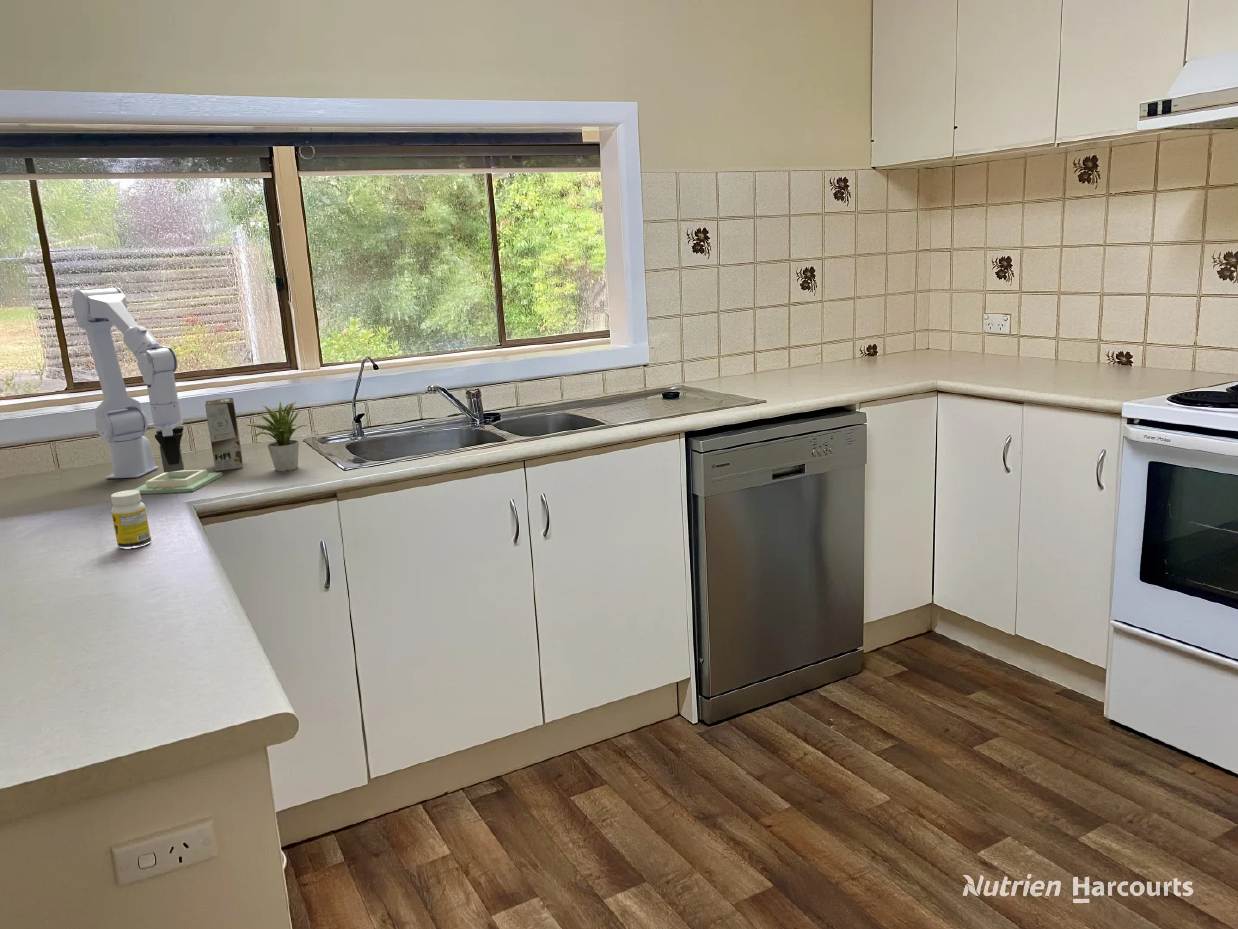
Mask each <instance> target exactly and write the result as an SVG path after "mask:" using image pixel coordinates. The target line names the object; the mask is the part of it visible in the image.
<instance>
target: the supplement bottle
mask: <svg viewBox="0 0 1238 929" xmlns="http://www.w3.org/2000/svg"><path fill="white" fill-rule="evenodd" d="M110 498H111V504H112V508H111V509H110V511H111V512H110V513H111V518H112V524H113V527H114V534H115V538H116V543H117V547H118V546H119V547H133V546H141V545H144V544H146V543H148V542H150V541H151V542H152V536H151V531H150V526H149V520H148V514H147V510H146V505H145V503H143V501H141V500H142V497H141V494H140V491H138V490H134V489H127V490H122V491H118V492H115V493H111V495H110ZM119 547H118V548H119Z"/></svg>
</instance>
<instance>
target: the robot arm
mask: <svg viewBox="0 0 1238 929" xmlns="http://www.w3.org/2000/svg"><path fill="white" fill-rule="evenodd" d="M71 300H72V301H71V306H72V309H73V313H74V316H75V321H76V323H77V326H78V328H81V329H83V330H85V333H86V337H87V340H88V344H89V348H90V351H91V356H92V359H93V363H94V365H95V366H94V367H95V370H96V374H97V377H98V380H99V384H100V388H101V391H102V395H103V400H102V401H101V403H100V404H99V405H98V406H97V407H96V408H95V409H94V415H95V427H96V431H97V433H98V435H99V437H101V438H102V440H104V441H105V442H107V443H108V448H109V455H110V459H111V465H112V470H113V473H111V474H110V475H107V476H106V479H127V478H133V479H134V478H140V477H141V476H144V475H146V474H148V473H151V472H153V471H155V470H157V469H158V468H159V466H158V465H155V462H154V455H153V450H152V449H153V448H152V445H151V444H152V443H151V441H150V440H149V439H148V438H147V436H145V433H146V432H147V429H150V428H154V429H157V430H156V434H154V439H155V440H156V441H157V443H158V444H159V446H160V445H161V447H162V449H163V451H164V454H165V457H166V459H167V462H168V464H169V465H173V464H179V461H180V446H181V440H182V437H183V435H184V433H183V432H184V426H182V425H183V424H184V422H183V421H184V420H183V419H182V416H181V410H180V405H179V397H178V392H177V391H178V390H177V386H176V379H175V374H174V373H175V372H176V371H177V369H178V359H177V356H176V353H175V351H174V349H172V347H171V346H166V345H165V344H161V343H160V342H159V341H158V340H157V338H155V337H154V335H153V334H152V333H151V332H150V330H149V329H148V328H146V327H145V326H141V325H138V324H137V322H136V320H135V319H134V317H133V316H132V315H131V313H130V311H129V310H128V302H127V297H126V294H125V293H124V291H123V290H122V289H121V288H120V287H118V286H114V287H110V288H95V289H85V290H84V289H83V290H82V289H77V290H75V292H74V294H73V296H72V299H71ZM113 326H114V327H115V328H117V330H118V331H119V332H120V333H122V335H123V338H122V340H123V343H124V345H125V346H126V347H127V348H128V350H130V352H131V353H132V354H133V356H134V358H136V359H137V362H136V363H137V367H138V370H139V372H140V374H141V376H142V381H143V382H144V383H143V384H145V385H146V388H147V389H146V390H147V394H148V398H149V406H150V411H151V417H152V423H149V420H148V417H147V414H146V413H145V411H144V410H143V407H142V405H141V402H140V401H138V400H137V399H135V398H133V397H131V396H130V395H128V391H127V389H126V388H127V387H126V385H125V382H124V378H123V374H122V369H121V366H120V363H119V359H118V355H117V351H116V347H115V345H114V341H113V337H112V333H111V330H112V327H113ZM118 410H119V411H118ZM111 411H113V412H111Z"/></svg>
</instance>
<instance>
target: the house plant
mask: <svg viewBox="0 0 1238 929" xmlns="http://www.w3.org/2000/svg"><path fill="white" fill-rule="evenodd" d="M296 403H297V401H294V402H292V403H289V404H287V405H286V406H285V407H284V409H283V405H282V402H281V401H280V402H279V407H278V411H277V412H278V414H277V412H276V411H274V410H271V409H270V408H269V407H268V406H265V405H262V407H264V408H265V410H266V411H267V412H268V415H269V417H270V418H271V419H270V418H268V417H267V416H265V415H261V414H259V413H256V412H252V414H254V415H256V416H259V418H261V419H262V420H263V421H264V422H265V424H266V425H264V424H258V423H257V424H246V426H247V427H253V428H257V431H259V432H258V433H255V434H254V435H253V438H256V437H257V436H259V435H266V436H267V437H268V438H270V439H271V440H274V441H273V442H269V443H267V448H268V451H269V455H270V457H271V460H272V464H273V468H274V470H275V471H276V470H277V471H276V472H287V471H286V470H289V471H293V470H292V469H294V470H296V469H295V468H297V467H298V468H299V447H300V446H299V445H300V444H299V443H300V441H299V440H297V439H291V437H292V436H293V434H294V432H295V431H297V429H299V428H301V427H308V425H306V424H305V425H298V426H297V425H296V423H294V421H295V420H296V419H297V416H299V415H298V414H300V413H301V411H299V410H300V407H299V409H297V411H296V413H295V414H294V412H295V410H296V407H297V405H296ZM293 415H294V416H293ZM294 426H295V427H296V428H293V427H294ZM258 429H260V430H261V431H260V430H258ZM265 431H268V432H265ZM271 437H272V438H271ZM298 468H297V469H298Z"/></svg>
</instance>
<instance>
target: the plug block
mask: <svg viewBox="0 0 1238 929" xmlns="http://www.w3.org/2000/svg"><path fill="white" fill-rule="evenodd" d="M159 451H160V457H161V458H160V459H161V462H162V468H163V473H167V472H174V471H181V470H185V465H184V458H183V452H182V446H181V445H180V461H179V464H173V465H169V464H168V462H167V459H166V457H165V454H164V451H163V449H162V447H161V445H160V444H159Z"/></svg>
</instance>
